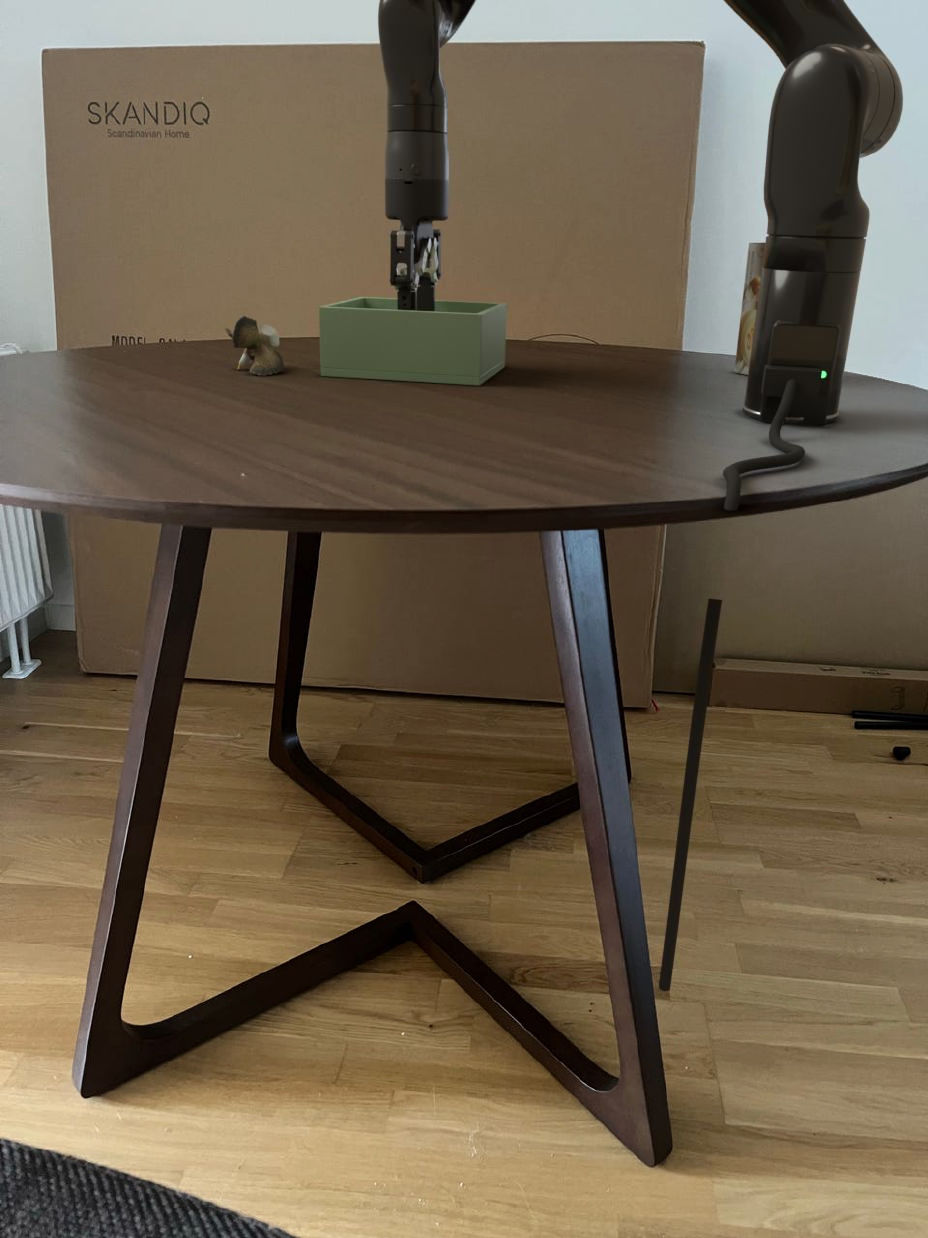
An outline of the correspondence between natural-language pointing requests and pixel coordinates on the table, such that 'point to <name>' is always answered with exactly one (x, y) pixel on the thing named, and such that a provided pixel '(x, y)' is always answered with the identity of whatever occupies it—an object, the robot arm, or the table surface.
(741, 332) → the coffee box
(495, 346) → the bin
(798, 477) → the table surface
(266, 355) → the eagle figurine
